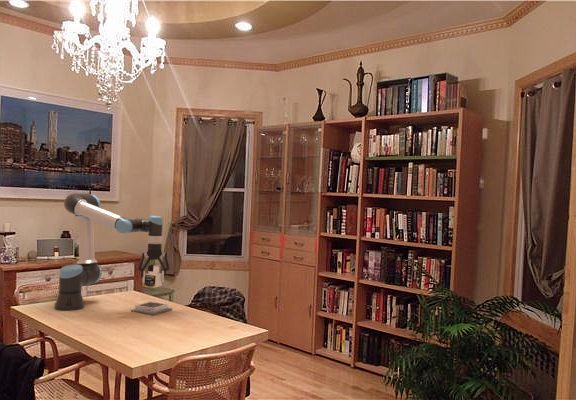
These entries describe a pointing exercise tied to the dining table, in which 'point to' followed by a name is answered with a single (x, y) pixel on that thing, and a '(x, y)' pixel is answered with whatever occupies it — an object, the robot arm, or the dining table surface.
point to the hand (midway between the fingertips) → (153, 282)
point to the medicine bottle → (153, 277)
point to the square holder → (151, 308)
